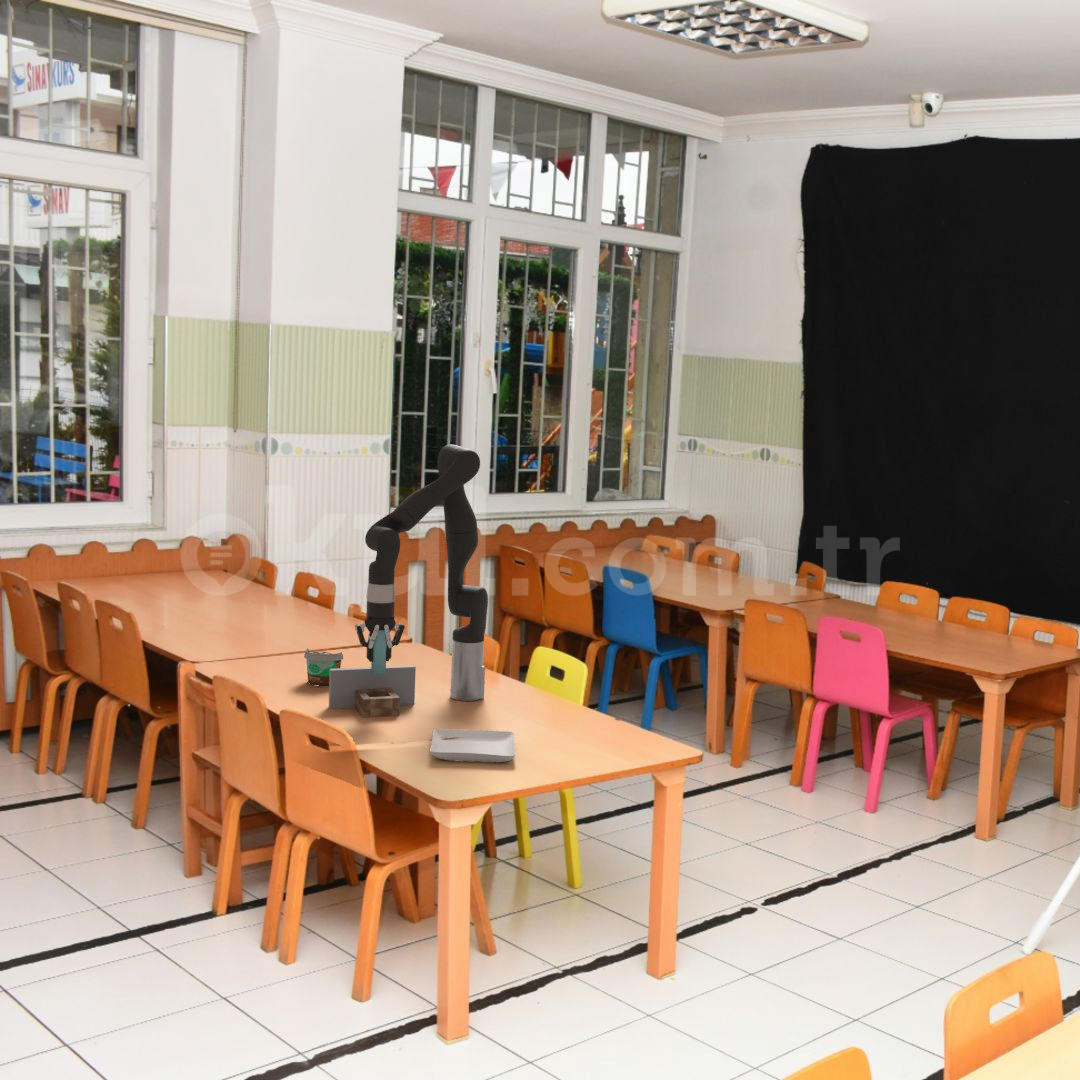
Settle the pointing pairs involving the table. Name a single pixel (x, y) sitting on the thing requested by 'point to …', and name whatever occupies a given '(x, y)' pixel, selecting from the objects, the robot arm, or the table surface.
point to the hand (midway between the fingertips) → (378, 660)
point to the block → (377, 702)
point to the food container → (321, 666)
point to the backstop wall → (370, 684)
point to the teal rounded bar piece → (379, 653)
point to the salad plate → (473, 745)
